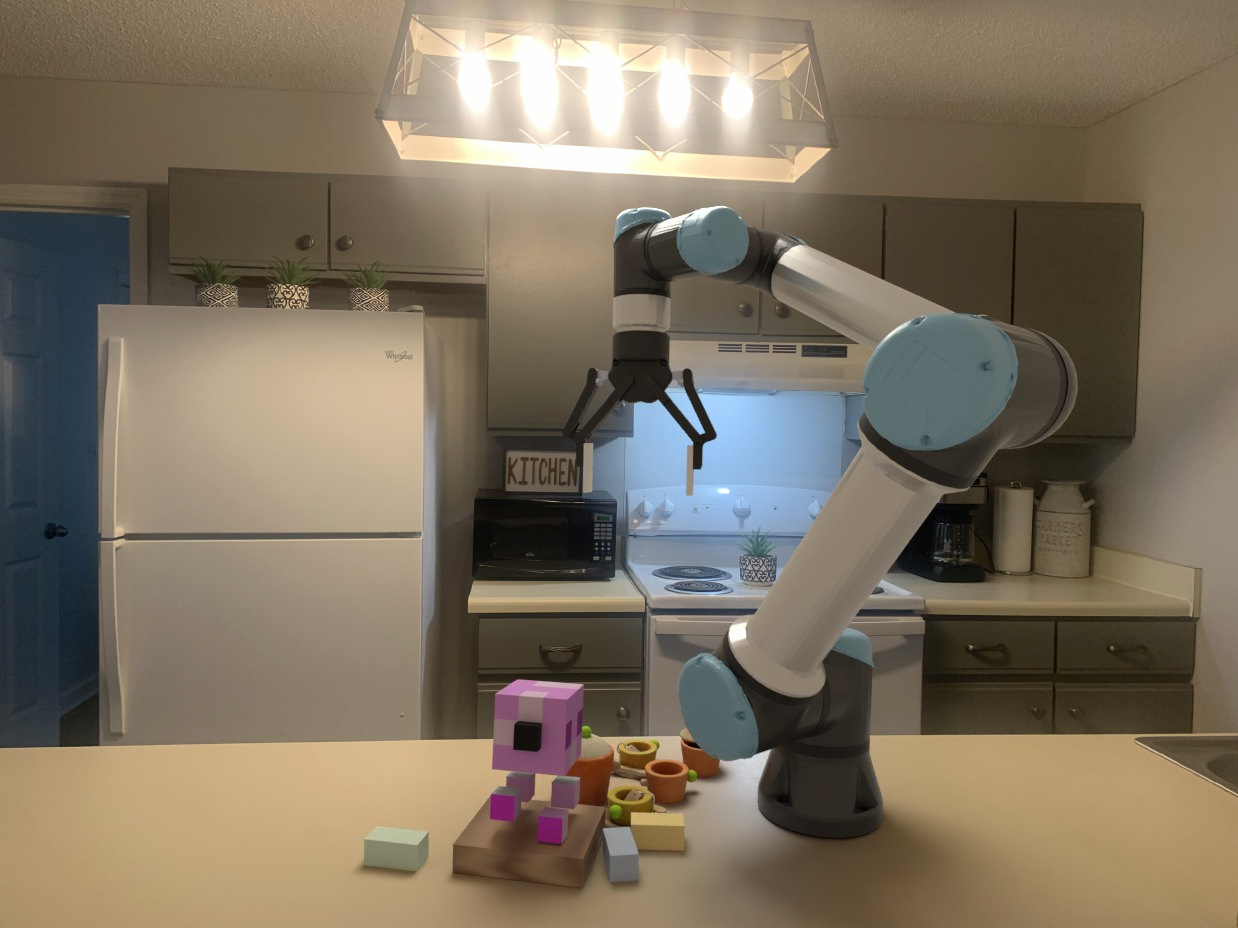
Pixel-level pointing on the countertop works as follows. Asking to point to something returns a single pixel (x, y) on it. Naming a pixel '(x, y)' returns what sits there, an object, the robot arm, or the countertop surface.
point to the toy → (537, 750)
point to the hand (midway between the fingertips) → (638, 493)
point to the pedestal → (530, 846)
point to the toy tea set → (636, 775)
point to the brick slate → (620, 854)
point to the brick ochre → (658, 831)
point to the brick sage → (396, 848)
